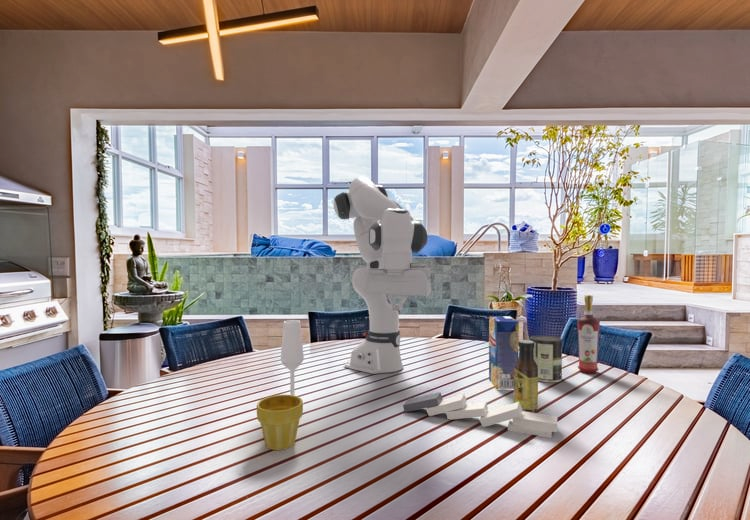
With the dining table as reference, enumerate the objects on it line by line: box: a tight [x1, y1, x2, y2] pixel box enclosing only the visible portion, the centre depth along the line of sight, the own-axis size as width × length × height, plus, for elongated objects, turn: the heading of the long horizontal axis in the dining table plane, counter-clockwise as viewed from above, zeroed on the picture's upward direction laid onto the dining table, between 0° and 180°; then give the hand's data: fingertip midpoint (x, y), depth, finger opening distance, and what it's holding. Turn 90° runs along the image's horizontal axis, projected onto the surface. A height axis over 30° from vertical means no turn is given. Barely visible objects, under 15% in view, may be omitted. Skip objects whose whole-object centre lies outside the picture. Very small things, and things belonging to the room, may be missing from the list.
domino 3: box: [445, 401, 489, 421], centre depth 111 cm, size 2×5×10 cm
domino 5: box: [513, 411, 558, 433], centre depth 104 cm, size 2×5×10 cm
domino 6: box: [507, 419, 553, 439], centre depth 104 cm, size 2×5×10 cm
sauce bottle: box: [513, 339, 539, 413], centre depth 114 cm, size 6×6×20 cm
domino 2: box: [425, 393, 468, 417], centre depth 113 cm, size 2×5×10 cm
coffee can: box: [530, 334, 563, 384], centre depth 145 cm, size 10×10×14 cm
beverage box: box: [488, 315, 520, 390], centre depth 138 cm, size 7×11×22 cm, turn 177°
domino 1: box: [402, 391, 444, 413], centre depth 116 cm, size 2×5×10 cm
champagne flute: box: [280, 319, 305, 404], centre depth 122 cm, size 7×7×24 cm
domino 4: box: [479, 402, 522, 428], centre depth 106 cm, size 2×5×10 cm
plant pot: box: [256, 394, 304, 451], centre depth 96 cm, size 10×10×10 cm
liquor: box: [577, 294, 601, 375], centre depth 152 cm, size 7×7×28 cm
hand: (397, 310), depth 123 cm, fingers closed
